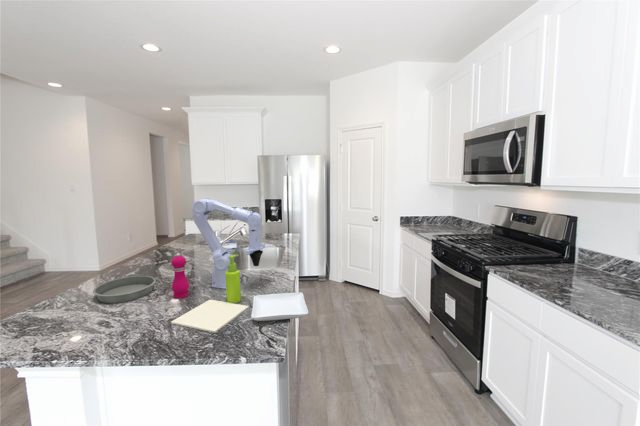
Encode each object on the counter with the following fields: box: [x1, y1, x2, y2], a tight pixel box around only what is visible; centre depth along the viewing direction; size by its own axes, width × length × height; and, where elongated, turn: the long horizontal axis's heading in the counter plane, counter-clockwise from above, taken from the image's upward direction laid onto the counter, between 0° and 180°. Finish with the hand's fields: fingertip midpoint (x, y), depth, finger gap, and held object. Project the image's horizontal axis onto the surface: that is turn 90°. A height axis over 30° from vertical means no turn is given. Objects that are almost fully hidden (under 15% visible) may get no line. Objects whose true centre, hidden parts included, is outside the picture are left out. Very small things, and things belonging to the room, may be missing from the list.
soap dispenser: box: [225, 254, 242, 304], centre depth 131 cm, size 6×7×20 cm
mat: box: [170, 299, 250, 334], centre depth 119 cm, size 20×21×1 cm
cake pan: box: [92, 275, 156, 304], centre depth 141 cm, size 25×25×4 cm
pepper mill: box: [170, 252, 190, 299], centre depth 136 cm, size 7×7×20 cm
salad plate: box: [250, 291, 309, 322], centre depth 122 cm, size 21×21×3 cm
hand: (256, 265), depth 147 cm, fingers closed
